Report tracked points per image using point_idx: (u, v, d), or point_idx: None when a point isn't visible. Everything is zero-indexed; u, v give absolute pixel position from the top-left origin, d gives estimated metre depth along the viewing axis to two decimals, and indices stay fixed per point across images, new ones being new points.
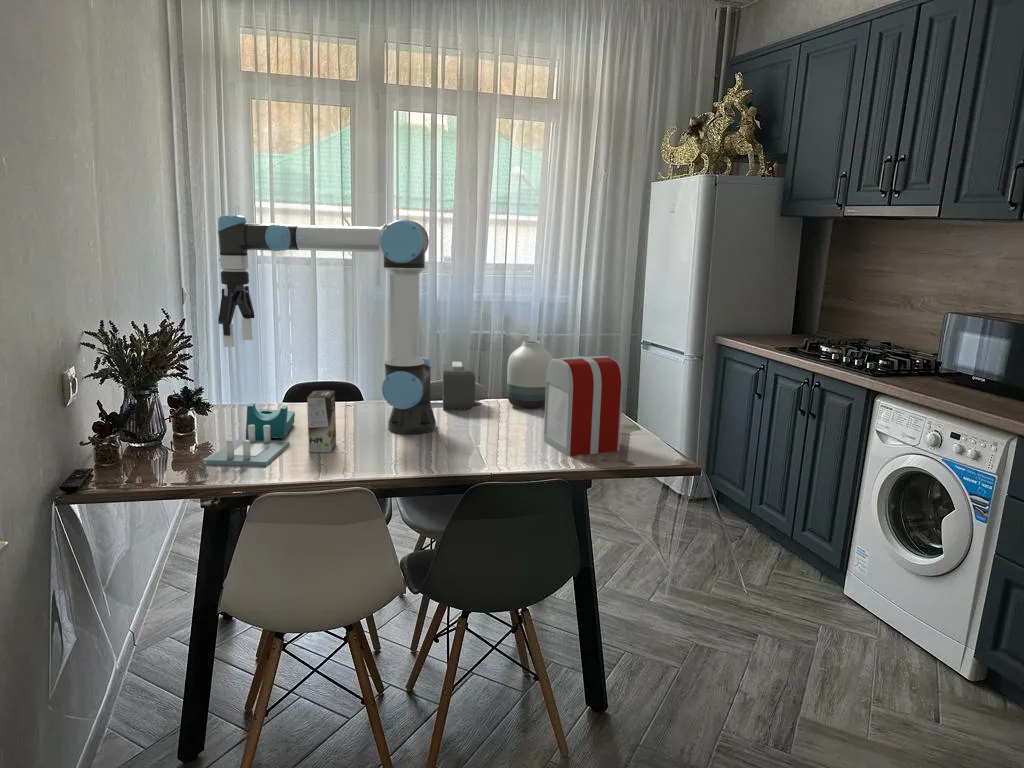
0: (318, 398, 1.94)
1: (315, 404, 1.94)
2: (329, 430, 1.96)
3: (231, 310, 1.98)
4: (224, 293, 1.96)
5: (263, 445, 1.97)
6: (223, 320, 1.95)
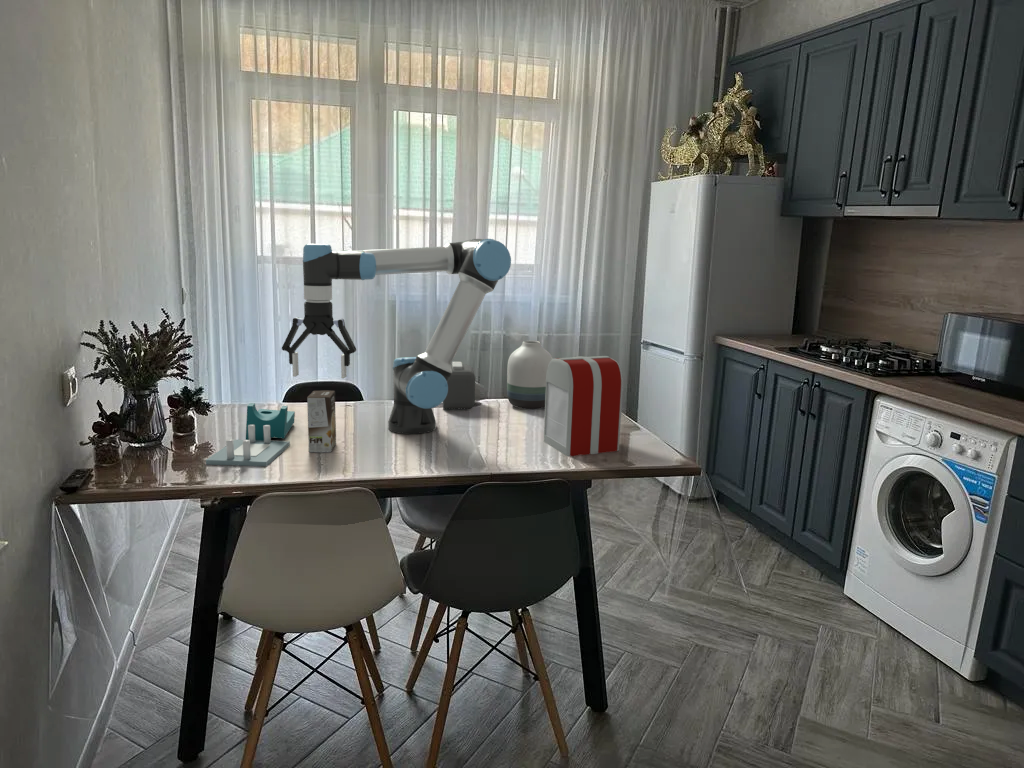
0: (318, 398, 1.94)
1: (315, 404, 1.94)
2: (329, 430, 1.96)
3: (297, 340, 1.94)
4: None
5: (263, 445, 1.97)
6: None
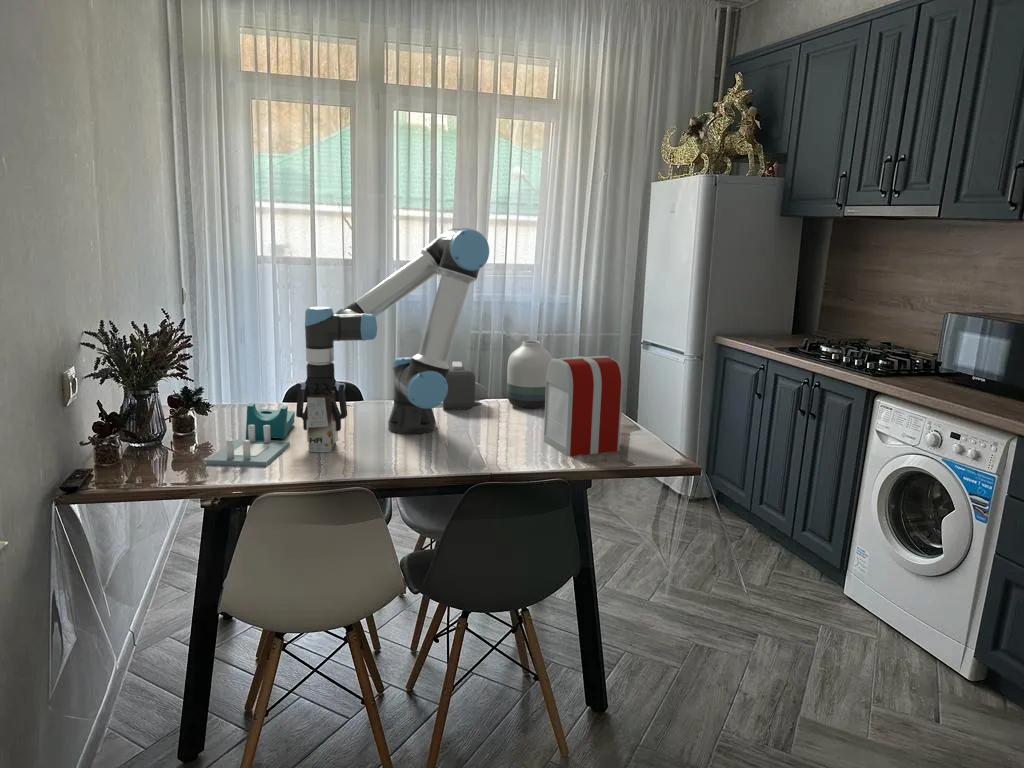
0: (318, 398, 1.94)
1: (315, 404, 1.94)
2: (329, 430, 1.96)
3: (306, 405, 1.98)
4: None
5: (263, 445, 1.97)
6: None
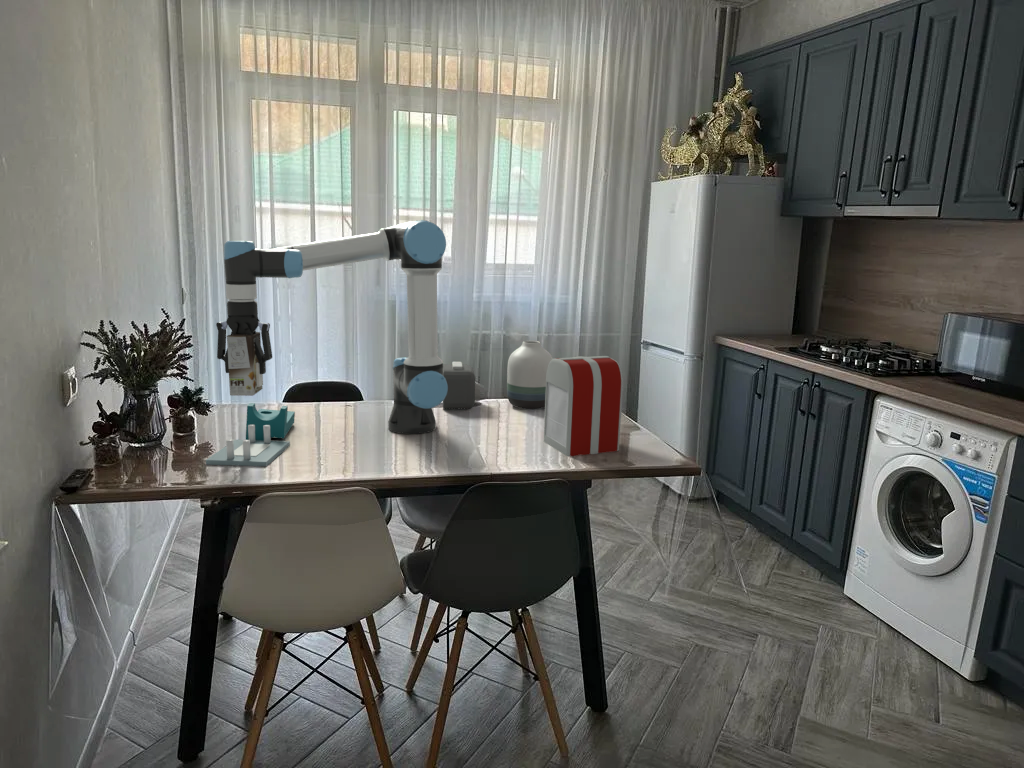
0: (238, 337, 1.82)
1: (235, 344, 1.83)
2: (251, 372, 1.85)
3: None
4: None
5: (263, 445, 1.97)
6: None
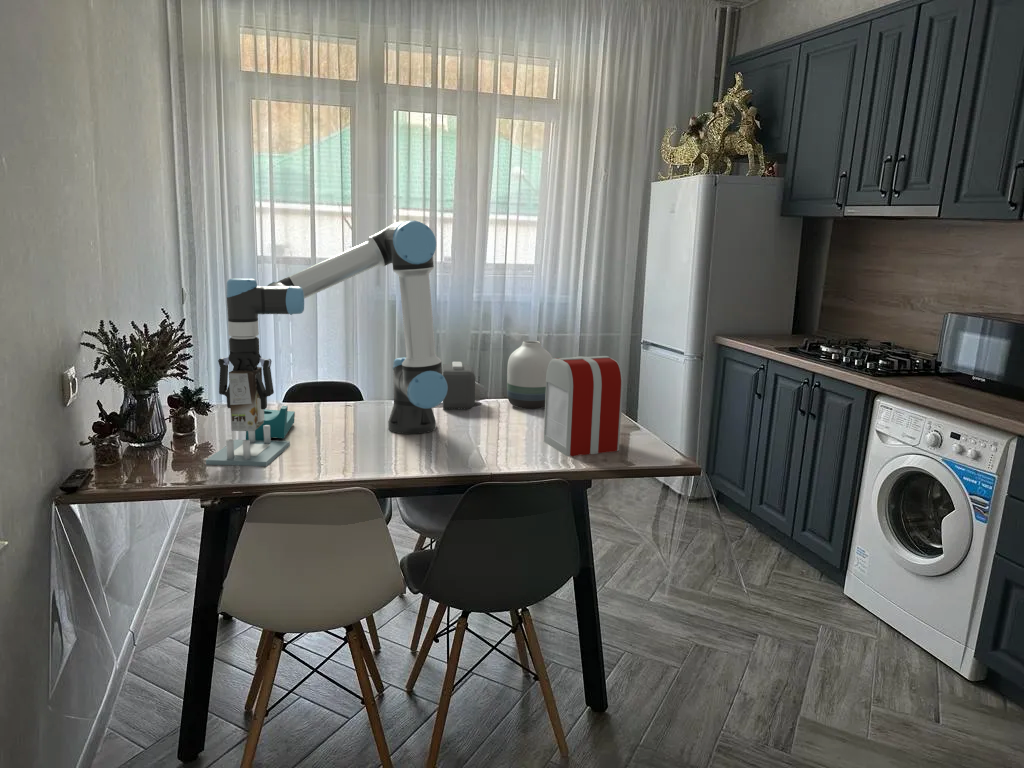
0: (240, 374, 1.84)
1: (237, 380, 1.85)
2: (252, 408, 1.87)
3: None
4: None
5: (263, 445, 1.97)
6: None
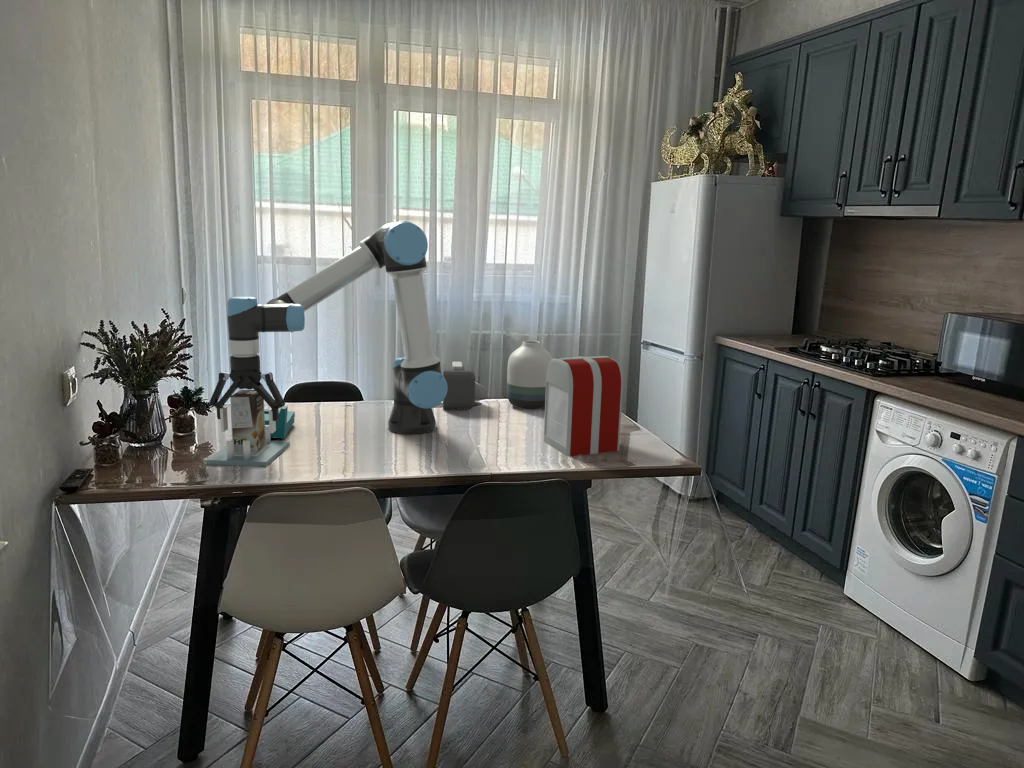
0: (242, 397, 1.86)
1: (239, 404, 1.86)
2: (254, 431, 1.88)
3: (224, 394, 1.89)
4: None
5: None
6: None
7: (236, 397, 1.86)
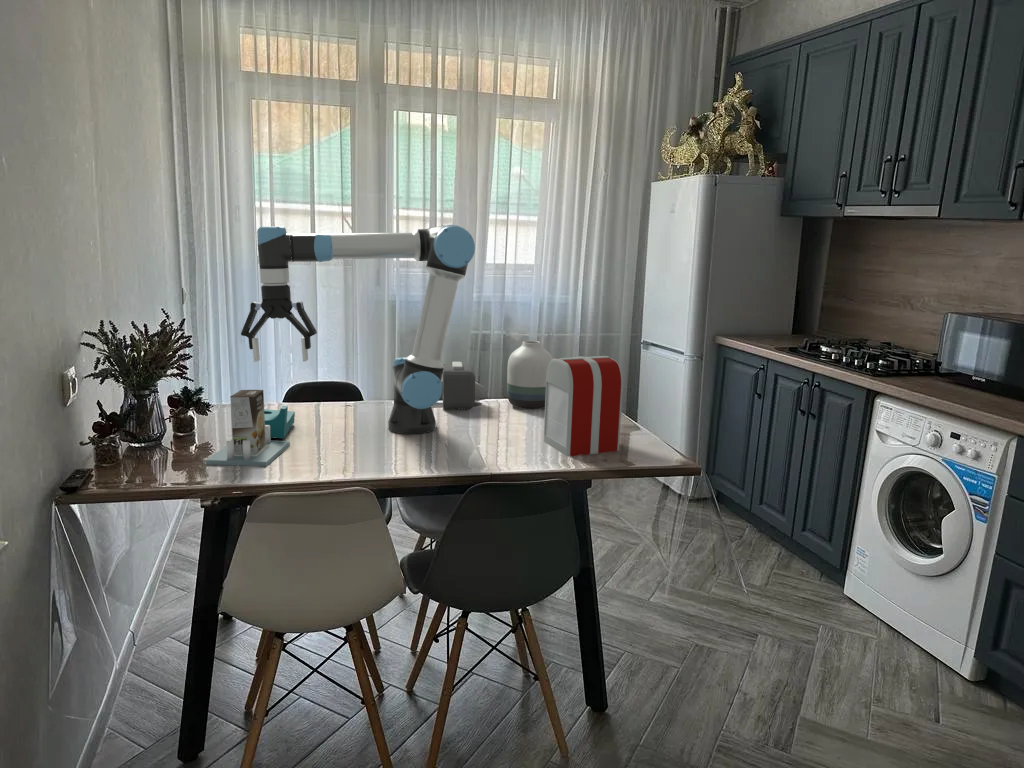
0: (242, 397, 1.86)
1: (239, 404, 1.86)
2: (254, 431, 1.88)
3: (256, 324, 1.92)
4: None
5: None
6: None
7: (236, 397, 1.86)
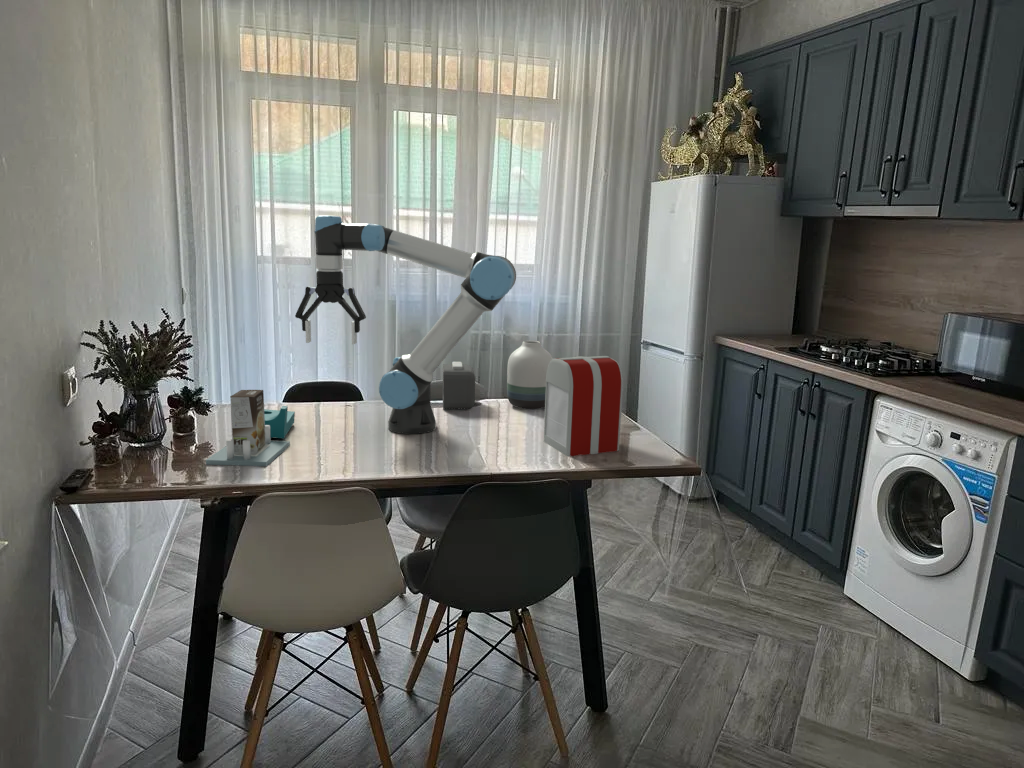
0: (242, 397, 1.86)
1: (239, 404, 1.86)
2: (254, 431, 1.88)
3: None
4: None
5: None
6: None
7: (236, 397, 1.86)
